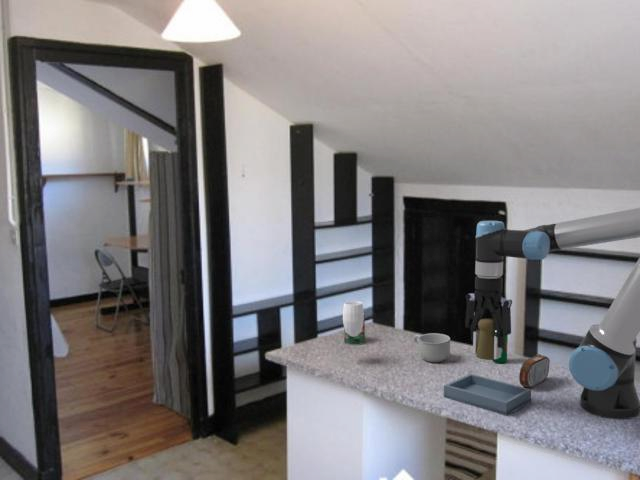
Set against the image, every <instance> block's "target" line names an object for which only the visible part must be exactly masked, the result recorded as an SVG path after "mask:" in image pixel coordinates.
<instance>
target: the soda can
mask: <svg viewBox="0 0 640 480" xmlns="http://www.w3.org/2000/svg"><path fill="white" fill-rule="evenodd" d="M496 335H497V333H496V330H495V336H496ZM508 336H509V335H506V336H504V347H502V348H501V357H500V358H498V359H494V360H491V361H492V362H493V363H496V364H505V363H507V361H508V344H509V343H508Z"/></svg>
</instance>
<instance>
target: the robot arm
mask: <svg viewBox="0 0 640 480" xmlns="http://www.w3.org/2000/svg"><path fill="white" fill-rule="evenodd" d="M475 234H476V235H475V266H474V267H475V268H474V269H475V270H474V274H475V275H476V276H475V277H474V288H475V290H474V293H472V292H471V293H468V294H466V295H465V300H466V301H465V302H466V307H465V308H466V309H465V320H464V323H465V324H464V327H465V328H466V329H469V330H470V340H471V342H472V354H473V355H476V353H477V347H478V341H479V334H480V329H479V327H478V323H479V321H480V320H481V319H483V315H484V312H485V310H486V309H488V310H489V311H490V312H489V313H490V314H491V316H492V319H493V321H494V325H495V329H496V333H497V335H496V336H494V359H498V358H500V357H501V348H502V347H504V336H506V335H508V336H509V335H511V334H512V320H511V319H512V318H511V317H512V316H511V313H512V312H511V307H512V304H513V300H512V299H508V298H507V299H506V298H505V297H504V295H503V287H504V286H503V284H504V283H503V279H504V278H503V277H502V276H503V275H504V258H505V257H506V258H517V259H526V260H531V261H534V260H541V261H542V260H544V259H546V258H547V256H548V255H549V253H550V252H555V251H561V250H565V249H572V248H573V249H574V248H578V247H587V246H592V245H598V244H605V243H610V242H616V241H617V242H619V241H625V240H631V239H638V238H640V207H638V208H633V209H632V208H631V209H626V210H620V211H615V212H608V213H604V214H599V215H594V216H589V217H584V218H578V219H571V220H567V221H561V222H557V223H552V224H542V225H538V226H535V227H532V228H528V229H523V230H521V229H520V230H519V229H508V228H505V222H503V221H500V220H481V221H479V222H478V223H477V225H476V233H475ZM476 301H477V304H476ZM500 304H501V306H500ZM475 306H476V308H475ZM501 307H502V308H501ZM639 333H640V257H639V258H638V260H637V261H636V263H635V264H634V266H633V268H632V270H631V271H630V273H629V274H628V276H627V278H626V279H625V281H624V283H623V285H622V287H620V289H619V291H618V293H617V294H616V296H615V298H614V300H613V302H612V303H611V305H610V306H609V308H608V310H607V311H606V313H605V315H604V316H603V318H602V320H601V321H600V323H599V324H592V325H591V326H590V327H589V329H588V331H587V332H586V334H585V336H584V337H583V339H582V341H581V343H580V344H579V346H578V347H575V349H574V350H573V351H572V353H571V354H570V356H569V360H568V369H569V372H570V375H571V376H572V377H573V379H574V380H575V382H577V384H579V385H580V386H581V387H583V389H582V392H581V394H580V397H579V398H580V399H579V405H580V407H581V409H582V410H584V411H586V412H588V413H589V414H593V415H596V416H600V417H604V418H609V419H630V418H635V417H638V416H639V415H640V398H639V395H638V393H637V389H636V385H635V373H636V352H637V342H638V339H637V336H638V335H639Z"/></svg>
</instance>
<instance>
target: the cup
mask: <svg viewBox="0 0 640 480" xmlns="http://www.w3.org/2000/svg"><path fill="white" fill-rule="evenodd" d="M363 305H364V304H363V302H362V301H357V300H351V301H344V303H343V307H342V308H343V309H342V322H343V329H344V328H345V331H346V333H348V334H349V335H350V336H352V337H355V336H357V335H358V334H359V333H361V331H362V327H363V322H364V314H365V312H364V306H363Z"/></svg>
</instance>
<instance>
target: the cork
mask: <svg viewBox="0 0 640 480" xmlns="http://www.w3.org/2000/svg"><path fill="white" fill-rule="evenodd" d="M478 327H479V329H478V330H480V334H479V341H478V347H477V353H476V354H475V357H476V358H478V359H480V360H485V361H492V360H494V336H495V330H496V329H495V325H494V321H493V318H491V317H490V318H489V317H488V318H487V317H484V318H482V319H481V320H480V321H479V323H478Z"/></svg>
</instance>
